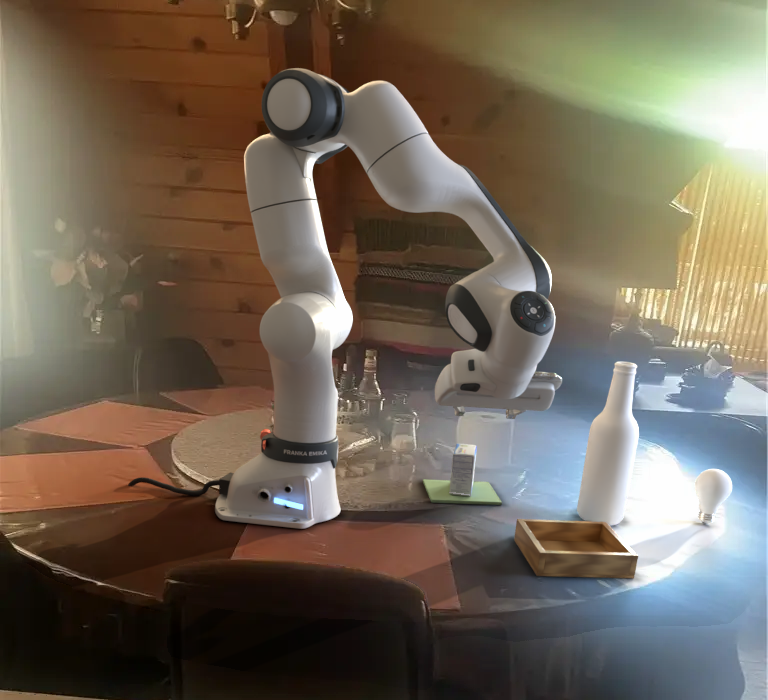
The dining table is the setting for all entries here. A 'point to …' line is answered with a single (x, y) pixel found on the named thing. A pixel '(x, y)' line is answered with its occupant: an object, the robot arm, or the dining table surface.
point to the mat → (479, 495)
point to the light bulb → (711, 493)
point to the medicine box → (463, 469)
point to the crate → (574, 549)
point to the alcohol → (610, 453)
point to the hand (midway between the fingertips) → (484, 414)
